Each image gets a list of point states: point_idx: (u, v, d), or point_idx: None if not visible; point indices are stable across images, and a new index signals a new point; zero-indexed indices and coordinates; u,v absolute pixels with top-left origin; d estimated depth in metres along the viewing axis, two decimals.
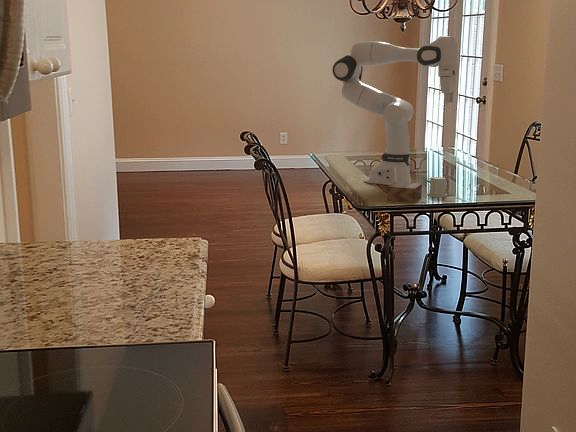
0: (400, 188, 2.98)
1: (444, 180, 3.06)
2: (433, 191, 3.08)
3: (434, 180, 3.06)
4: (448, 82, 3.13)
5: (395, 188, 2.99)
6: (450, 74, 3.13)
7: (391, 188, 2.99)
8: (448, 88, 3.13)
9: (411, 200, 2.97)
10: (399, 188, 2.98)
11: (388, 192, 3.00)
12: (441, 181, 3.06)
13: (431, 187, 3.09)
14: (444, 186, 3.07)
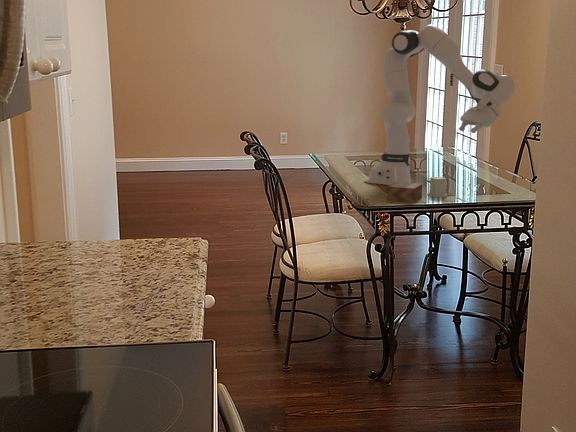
0: (399, 188, 2.98)
1: (444, 180, 3.06)
2: (433, 191, 3.08)
3: (434, 180, 3.06)
4: (494, 119, 2.99)
5: (394, 188, 2.99)
6: (499, 114, 3.00)
7: (391, 188, 3.00)
8: (490, 124, 2.98)
9: (410, 200, 2.97)
10: (398, 188, 2.98)
11: (388, 192, 3.00)
12: (441, 181, 3.06)
13: (431, 187, 3.09)
14: (444, 186, 3.07)
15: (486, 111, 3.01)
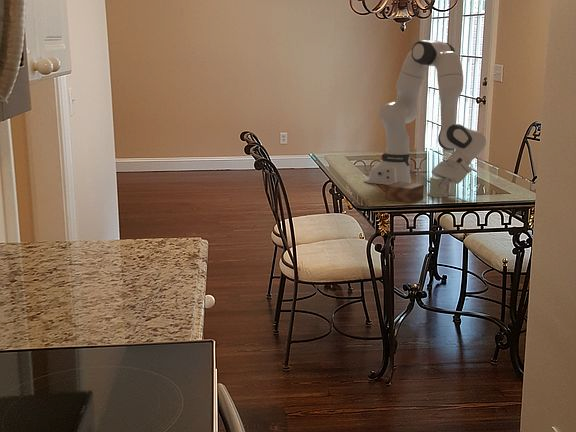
0: (397, 188, 2.98)
1: (444, 180, 3.06)
2: (433, 190, 3.08)
3: (434, 180, 3.06)
4: (464, 176, 3.00)
5: (393, 188, 3.00)
6: (469, 171, 3.02)
7: (389, 187, 3.01)
8: (460, 180, 3.00)
9: (407, 200, 2.97)
10: (396, 188, 2.99)
11: (386, 191, 3.02)
12: (441, 181, 3.06)
13: (431, 187, 3.09)
14: (444, 186, 3.07)
15: (456, 167, 3.03)
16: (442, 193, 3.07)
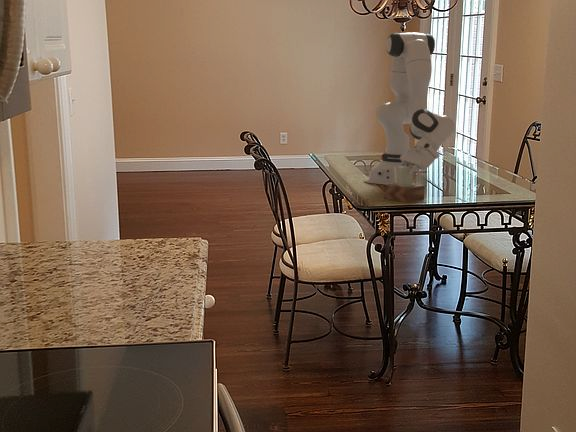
0: (395, 187, 2.99)
1: None
2: (399, 180, 3.01)
3: (400, 169, 2.99)
4: (431, 161, 2.93)
5: (391, 187, 3.01)
6: (436, 156, 2.95)
7: (388, 187, 3.02)
8: (427, 166, 2.93)
9: (403, 200, 2.97)
10: (394, 187, 3.00)
11: (385, 191, 3.04)
12: (407, 170, 2.99)
13: (398, 176, 3.02)
14: (411, 175, 3.00)
15: (423, 153, 2.96)
16: (409, 182, 3.00)
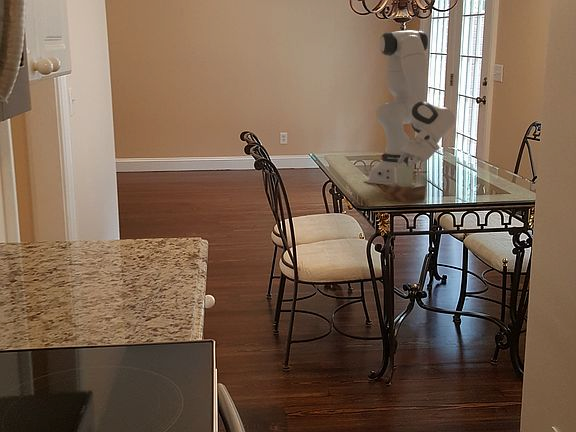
0: (395, 187, 2.99)
1: (411, 169, 2.99)
2: (400, 180, 3.01)
3: (401, 169, 2.99)
4: (431, 153, 2.93)
5: (391, 187, 3.01)
6: (437, 148, 2.94)
7: (388, 187, 3.02)
8: (427, 158, 2.92)
9: (404, 200, 2.97)
10: (394, 187, 3.00)
11: (386, 191, 3.04)
12: (407, 170, 2.99)
13: (398, 176, 3.02)
14: (411, 175, 3.00)
15: (424, 145, 2.95)
16: (409, 182, 3.00)
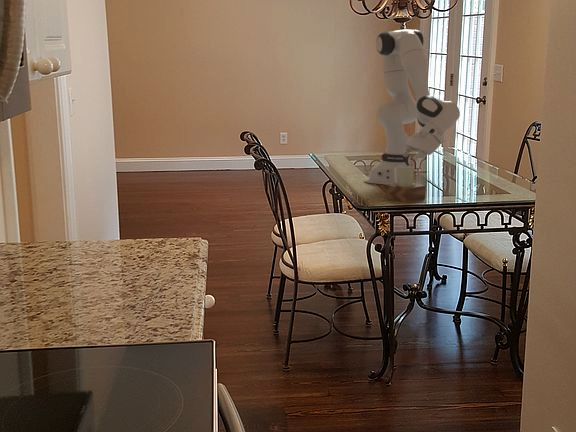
0: (395, 187, 2.99)
1: (412, 169, 2.99)
2: (400, 180, 3.01)
3: (402, 169, 2.99)
4: (436, 147, 2.93)
5: (392, 187, 3.01)
6: (442, 142, 2.94)
7: (388, 187, 3.02)
8: (432, 151, 2.92)
9: (404, 200, 2.97)
10: (395, 187, 3.00)
11: (386, 191, 3.04)
12: (408, 170, 2.99)
13: (399, 176, 3.02)
14: (412, 175, 3.00)
15: (429, 138, 2.95)
16: (410, 182, 3.00)
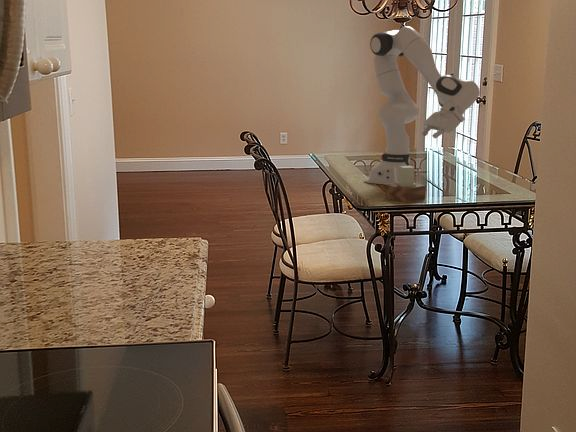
0: (395, 187, 2.99)
1: (412, 169, 2.99)
2: (401, 180, 3.01)
3: (402, 169, 3.00)
4: (456, 125, 2.94)
5: (392, 187, 3.01)
6: (462, 120, 2.95)
7: (389, 187, 3.02)
8: (452, 129, 2.93)
9: (404, 200, 2.97)
10: (395, 187, 3.00)
11: (386, 191, 3.04)
12: (408, 170, 2.99)
13: (400, 176, 3.03)
14: (412, 175, 3.00)
15: (449, 116, 2.96)
16: (410, 182, 3.00)
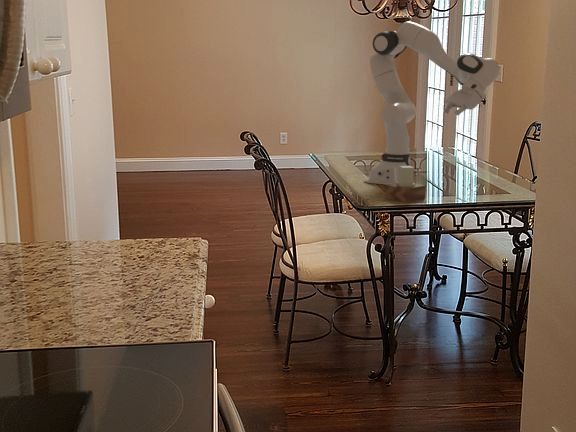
0: (395, 187, 2.99)
1: (412, 169, 2.99)
2: (400, 180, 3.01)
3: (401, 169, 2.99)
4: (478, 101, 2.99)
5: (391, 187, 3.01)
6: (483, 97, 3.01)
7: (388, 187, 3.02)
8: (474, 106, 2.99)
9: (404, 200, 2.97)
10: (395, 187, 3.00)
11: (386, 190, 3.04)
12: (408, 170, 2.99)
13: (399, 176, 3.03)
14: (412, 175, 3.00)
15: (470, 93, 3.02)
16: (409, 182, 3.00)
